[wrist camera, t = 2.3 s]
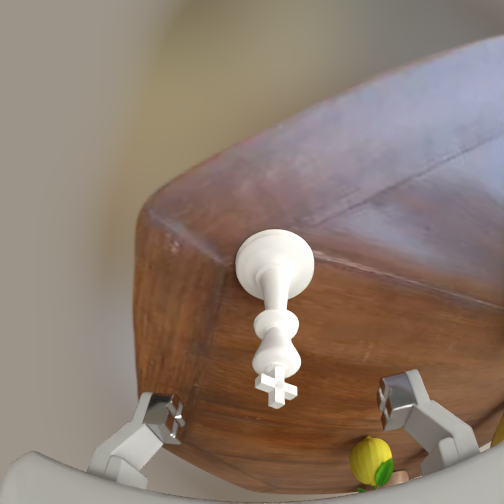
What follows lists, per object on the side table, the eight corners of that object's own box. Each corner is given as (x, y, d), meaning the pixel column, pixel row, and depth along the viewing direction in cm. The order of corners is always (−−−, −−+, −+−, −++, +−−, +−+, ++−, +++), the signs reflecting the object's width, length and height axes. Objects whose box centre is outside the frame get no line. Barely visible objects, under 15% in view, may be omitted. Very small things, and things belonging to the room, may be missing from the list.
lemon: (352, 449, 33) (358, 508, 24) (335, 439, 31) (342, 506, 22) (394, 433, 31) (407, 493, 22) (383, 421, 29) (397, 490, 20)
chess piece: (263, 213, 17) (256, 344, 8) (329, 255, 18) (370, 390, 9) (221, 273, 19) (189, 408, 10) (283, 306, 20) (288, 440, 11)
